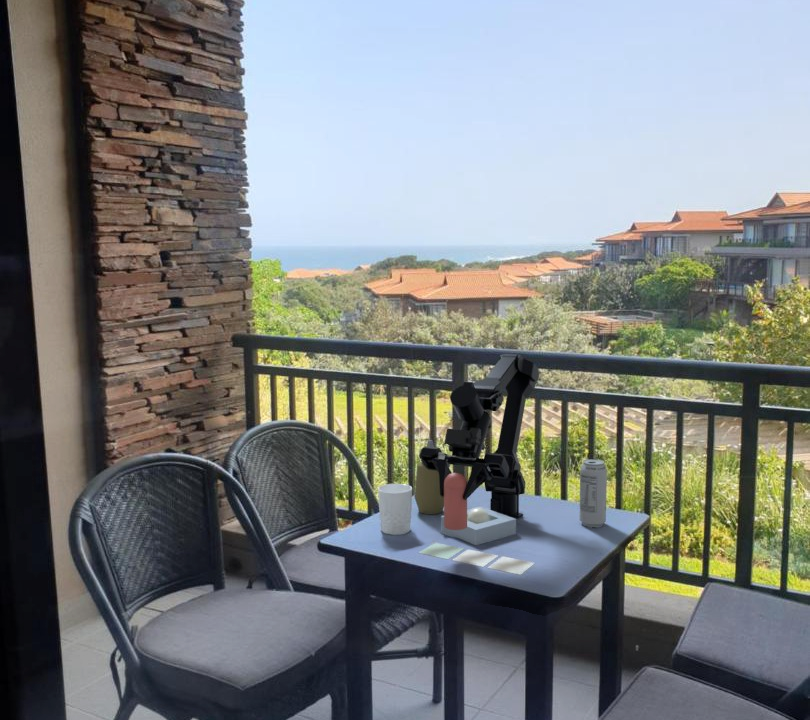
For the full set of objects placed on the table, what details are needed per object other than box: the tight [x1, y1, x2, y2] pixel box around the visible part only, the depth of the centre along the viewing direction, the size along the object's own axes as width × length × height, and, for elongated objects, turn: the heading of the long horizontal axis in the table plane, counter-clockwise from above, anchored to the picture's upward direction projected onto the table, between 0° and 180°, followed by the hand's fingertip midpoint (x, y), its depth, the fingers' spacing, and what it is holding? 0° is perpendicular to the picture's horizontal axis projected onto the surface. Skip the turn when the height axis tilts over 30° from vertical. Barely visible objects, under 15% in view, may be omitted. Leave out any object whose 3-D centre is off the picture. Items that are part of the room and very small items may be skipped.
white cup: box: [377, 483, 413, 536], centre depth 184 cm, size 8×8×10 cm
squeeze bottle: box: [413, 439, 444, 515], centre depth 197 cm, size 8×8×18 cm
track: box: [418, 541, 535, 576], centre depth 165 cm, size 25×8×1 cm, turn 58°
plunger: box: [467, 508, 489, 524], centre depth 180 cm, size 5×5×6 cm
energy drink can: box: [579, 458, 608, 528], centre depth 186 cm, size 6×6×15 cm
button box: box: [440, 506, 517, 546], centre depth 180 cm, size 12×12×4 cm
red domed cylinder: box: [443, 472, 468, 530], centre depth 165 cm, size 5×5×11 cm
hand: (452, 497), depth 164 cm, fingers closed on red domed cylinder, 5 cm apart
